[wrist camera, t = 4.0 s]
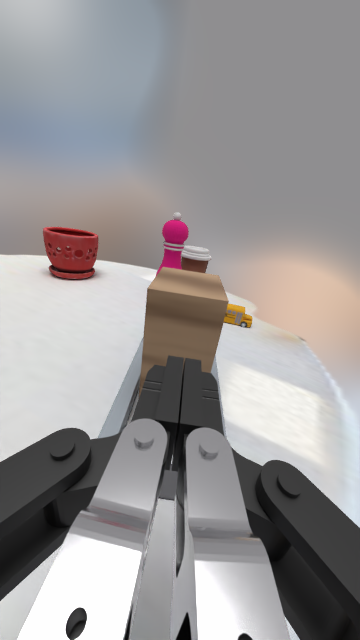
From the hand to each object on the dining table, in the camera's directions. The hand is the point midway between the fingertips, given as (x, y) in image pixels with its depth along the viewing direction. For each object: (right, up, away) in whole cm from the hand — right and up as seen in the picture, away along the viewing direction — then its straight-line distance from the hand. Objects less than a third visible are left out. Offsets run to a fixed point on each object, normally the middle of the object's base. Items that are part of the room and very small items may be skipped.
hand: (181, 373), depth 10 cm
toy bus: (+11, +2, +39) cm, 41 cm away
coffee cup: (+3, +12, +57) cm, 58 cm away
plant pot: (-30, +15, +53) cm, 63 cm away
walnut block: (-1, -7, +15) cm, 17 cm away
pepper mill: (-3, +8, +47) cm, 48 cm away
